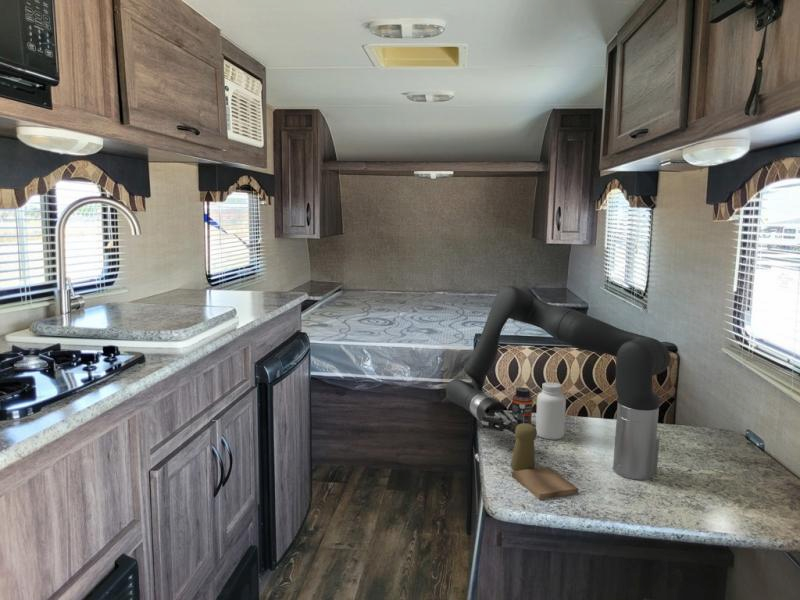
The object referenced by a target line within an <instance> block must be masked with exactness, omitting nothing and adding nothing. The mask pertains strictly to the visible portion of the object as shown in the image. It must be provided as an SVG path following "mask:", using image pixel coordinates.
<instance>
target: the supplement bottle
mask: <svg viewBox="0 0 800 600" xmlns="http://www.w3.org/2000/svg"><path fill="white" fill-rule="evenodd" d="M515 390H516V391H515V394H514V395H513V396H512V400H511V401H512V402H511V412H512V413H514V415H518V414H520V413H524V423H526V424H530V425H532V417H533V400H534V399H533V397H532V396H531V393H530V392H531V390H530V389H529V388H527V387H521V386H520V387H516V389H515Z"/></svg>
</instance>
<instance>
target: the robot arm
mask: <svg viewBox="0 0 800 600" xmlns="http://www.w3.org/2000/svg"><path fill="white" fill-rule="evenodd" d="M509 319H511V320H513V321H517V322H520V323H524V324H528V325H532V326H534V327H537V328H540V329H542V331H544V332H546V333H547V334H548V335H550V336H551V337H553V338H554V339H556V340H557V341H560V342H561V343H563V344H567V346H568V345H569V346H571V347H573V348H577V349H579V350H584V351H589V352H593V353H600V354H605V355H610V356H613V357H616V358H615V359H616V360H615V391H616V394H617V406H616V407H617V409H616V422H615V437H614V450H613V451H614V452H613V464H612V469H613V471H614V472H615V473H616V474H617V475H619V476H621V477H624V478H627V479H633V480H637V481H638V480H649V479H652V478H653V477H654V475H657V474H658V463H659V462H658V461H659V452H660V451H659V450H660V449H659V448H660V438H661V437H660V436H659V435H658V424H659V412H660V411H659V410H660V396H659V394H658V393H657V392H654V391H653V376H656V375H660V374H661V373H663V372H665V371H666V370H667V369H668V367H669V366H670V364H671V354H670V351H669V350H668V348H667V347H666V346H665V344H663V343H662V342H661V341H659V340H658V339H656V338H653V337H649V336H646V335H641V334H638V333H634V332H632V331H627V330H624V329H621V328H619V327H616V326H614V325H612V324H609V323H607V322H604V321H603V320H600V319H598V318H595V317H592V316H590V315H588V314H586V313H584V312H581V311H578V310H575V309H573V308H570V307H564V306H558V305H552V304H550V303H548V302H545V301H544V300H542V299H540V298H538V297H536V296H534V295H532V294H531V293H530V292H528V291H526V290H523V289H521V288H519V287H516V286H514V285H506V286H504V287H501V289H500V290H498V292H497V294H496V295H495V297H494V300H493V302H492V305H491V307H490V310H489V313H488V315H487V317H486V322H485V324H484V327H483V330H482V332H481V334H480V337H479V339H478V341H477V344H476V345H475V347H474V349H473V351H472V352H471V354H470V356H469V358H468V360H467V362H466V364H465V365H464V367H463V371H464V372H465V374H466V375H467V376H468V377H470V378H471V382H467V381H465V380H462V379H459V378H454V379H452V380H451V381H449V382H448V383H447V385H446V387H445V394H446V397H447V399H448V400H449V401H451V402H452V403H453V404H455V405H458V406H460V407H461V408H463V409H465V410H466V411H467V412H469V413H470V414H472V415H473V417H475V418H476V419H477V420H478V421H480V422H481V427H482V428H484V429H488V430H494V431H498V432H504V430H505V431H507V432H509V433H512V434H513V435H515V429H516V427H517V426H518V425H519V424H523V423H524V413H520V414H518V415H514V413H512V411H509V410H508V407H507V406H506V404H505V403H503V402H502V401H500V400H499V399H496V397H494V396H492V395H490V394H487V393H485V392H484V391H483V388H484V385H485V381H486V378H487V376H488V374H489V372H490V371H491V369H492V366H493V365H494V363H495V361H496V359H497V357H498V354H499V353H498V352H499V345H500V336H501V333H502V330H503V329H504V326H505V324H506V323H507V321H509Z"/></svg>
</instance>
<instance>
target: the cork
mask: <svg viewBox="0 0 800 600" xmlns="http://www.w3.org/2000/svg"><path fill="white" fill-rule="evenodd" d="M514 435H515V437H516V440H515V443H514V448H513V451H512V455H511V456H512V457H511V461H510V463H509V465H510V468H511V469H512V470H514V471H519V470H526V469H533V468H536V461H535V459H536V457H535V440H536V438H537V436H538V435H537V430H536V426H534V425H532V424H531V425H530V424H526V423H523V424H519V425H518V426H517V427H516V429H515V434H514Z"/></svg>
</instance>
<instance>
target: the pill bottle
mask: <svg viewBox="0 0 800 600" xmlns="http://www.w3.org/2000/svg"><path fill="white" fill-rule="evenodd" d="M562 387H563V386H562V384H561V383H559V382H553V381H549V382H542V387H541V388H542V389H541V392H539V393H538V395H537V397H536V413H535V414H536V418H535V419H536V420H535V428H536V430H537V436H538V437H539V438H542V439H545V440H553V441H554V440H561V439H563V438H564V436H565V426H566V405H567V399H566V396H565V395H564V394H563V393H562Z"/></svg>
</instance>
